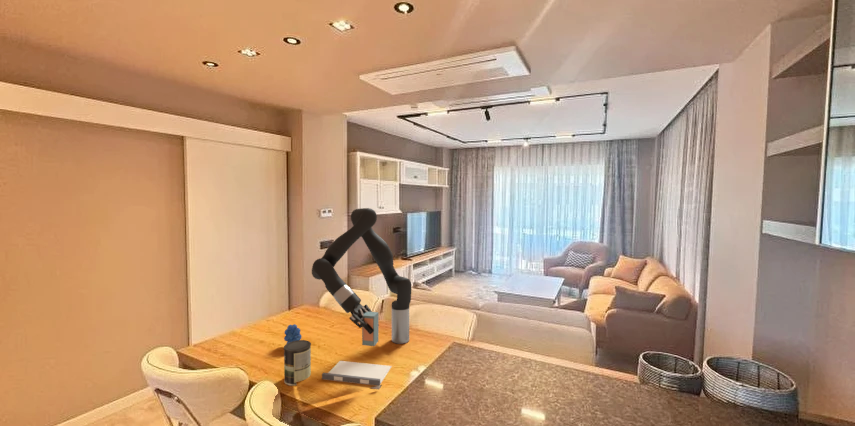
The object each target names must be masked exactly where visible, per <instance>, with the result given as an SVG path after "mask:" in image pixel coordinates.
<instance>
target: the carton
mask: <svg viewBox="0 0 855 426" xmlns="http://www.w3.org/2000/svg"><path fill="white" fill-rule="evenodd" d="M363 316H364V317H365V320H366V321H367V323H368V324H369V325H370V326H371V327H372V328H373V329H374V331H373V332H372V333H371V334H369V333H368V332H367V330H366V329H365V328H362V327H361V328H362V329H361V331H362V333H361V335H362V338H361V341H362V343H361V345H362V346H368V347H375V346H377V343H378V342H379V326H378V324H379V312H378V311H372V312H366V313H365V314H364V315H363ZM363 322H364V321H363Z"/></svg>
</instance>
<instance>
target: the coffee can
mask: <svg viewBox="0 0 855 426" xmlns="http://www.w3.org/2000/svg"><path fill="white" fill-rule="evenodd" d="M311 346H312V342H310V341H309V340H304V339H300V340H297V341H292V342H289V343H287V342H286V344H285V345H284V346H283V363H284V364H283V365H284V367H283V370H284V371H283V372H284V375H283V376H284V377H283V378H284V381H283V382H284V384H285V385H287V386H289V387H290V386H291V387H292V386H293V387H295V386H298V384H297V382H298V383H299V382H302V381H304V380H306V379H309V377H310V376H311V373H312V372H311V370H312V369H311V367H312V365H311V364H312V362H311V360H312V356H311V354H312V353H311V352H312V350H311Z"/></svg>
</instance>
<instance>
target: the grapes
mask: <svg viewBox="0 0 855 426" xmlns="http://www.w3.org/2000/svg"><path fill="white" fill-rule="evenodd" d="M284 335H285V336H284V338H283V339H284V341H285V342H286V344H287V343H289V342H292V341H297V340H302V334H301V329H300V327H298V325H297V324H294V323H293V324H289V325H288V326H287V328H286V329H284Z"/></svg>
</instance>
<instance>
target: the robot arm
mask: <svg viewBox="0 0 855 426" xmlns="http://www.w3.org/2000/svg"><path fill="white" fill-rule="evenodd" d="M377 220H378V215H377V212H376V210H374V209H373V208H369V207H365V208H363V207H362V208H361V207H360V208H356V209H354V210H352V212H351V213H350V221H351V224H352V226H351V228H349V229H348V230H346V231H345V232H343V233H342V234H340V236H338V237H337V238H336V239H334V240H333V242H332V243H331V244H330V245H329V246H328V248H326V250H325V252H324V254H323V256H322V257H321V258H317V259H315V261H313V263H312V267H311V275H312V277H313V278H314V279H316V280H318V281H319V280H321V281H322V282H323V284H324V285H325V286H324V287H325V289H326V290H327V292H329V293H330V295H331V296H332V297H333V298H334V300H335V302H337V304H338V305H339V306H340V308H342V310H343V311H345V313H346V314H349V313H350V314H351V315H350V317H349V320H350V321H351V323H352V322H353V324H354V325H356V326H357V327H358V329H361V328H365V329H366V330H367V332H368V333H369V334H371V333H372V332H373V331H374V329H373V328H372V327H371V326H370V325H369V324H368V323H367V321H366V320H365V317H364V316H363V315H364V314H365V313H366V312H373V311H372V310H371V308H370V307H369V306H368V304H365V305H362V304H361V302H362V299H361V298H360V297H359V296H358V295H357V294H356V292H355V291H354V290H353V289H352V288H351V287H350V286H349V285H347V283H346V282H345V281H344V280H343V279H342V278H341V277H340V275H339V274H338V272H337V270H336V269H335V266H336V265H337V263H338V262H339V261H340V259H342V257H343V256H344V255H345V254H346V253H347V252H348V250H350V248H351V247H352V246H353V245H354V244H355V243H356V242H357V241H358V240H359V239H360V238H362V240H363V241H364V243H365V245H366V247H367V248H368V251H369V252H370V254H371V256H372V258H373V260H374V262H375V263H376V264H377V266H378V268H379V270H380V272H381V274H382V277H383V278H384V281H385V282H386V285H387V288H388V290H390V292H391V293H393V294H395V295H396V300H393V301H392V302H391V342H392V343H394V344H398V345H399V344H407V343H408V342H409V341H410V306H411V305H410V304H411V303H412V281H411V280H410V279H409V278H408V277H406V276H405V277H404V276H400V275H399V274H398V272H397V270H396V269H395V266H394V255H393V251H392V250H391V248H390V246H389V245H388V243H387V241H385V240H384V239H383V238H382V237H381V236H380V235H378V233H376V232H375V230H374V229H373V226H374V225H375V224H376V222H377ZM363 321H364V322H363ZM379 326H380V325H379V323H378V327H379Z"/></svg>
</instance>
